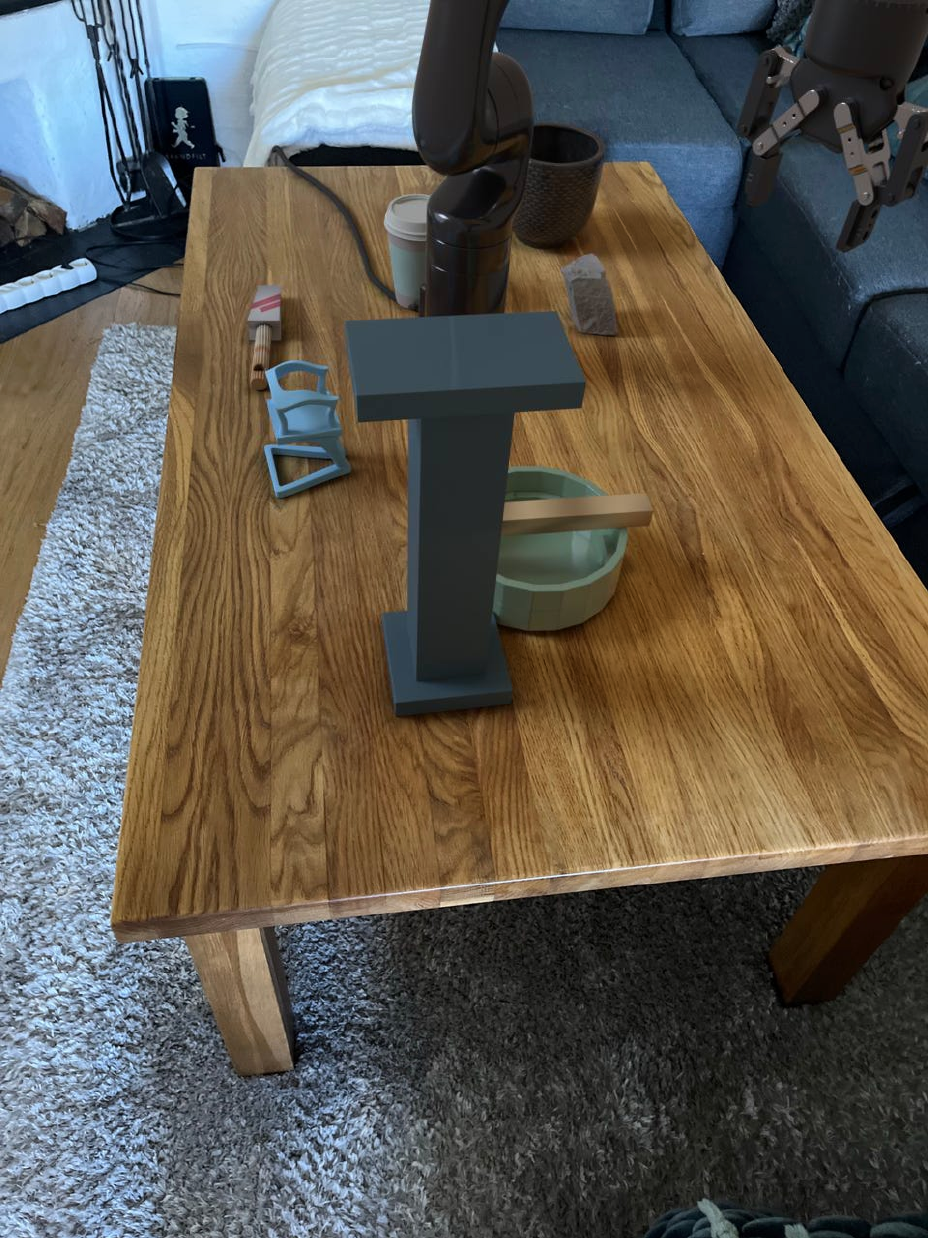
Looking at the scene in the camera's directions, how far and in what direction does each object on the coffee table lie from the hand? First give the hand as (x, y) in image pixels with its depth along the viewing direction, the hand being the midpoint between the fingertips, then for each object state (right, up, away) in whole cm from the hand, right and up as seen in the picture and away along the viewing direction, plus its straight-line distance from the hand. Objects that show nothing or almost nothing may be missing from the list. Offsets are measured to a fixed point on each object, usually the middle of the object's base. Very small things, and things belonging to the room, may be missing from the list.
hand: (800, 224), depth 72 cm
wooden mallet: (-20, -22, +14) cm, 33 cm away
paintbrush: (-50, +3, +42) cm, 65 cm away
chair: (-42, -15, +27) cm, 52 cm away
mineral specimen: (-10, +7, +48) cm, 50 cm away
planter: (-15, +25, +63) cm, 69 cm away
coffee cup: (-32, +11, +50) cm, 60 cm away
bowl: (-19, -25, +19) cm, 37 cm away
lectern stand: (-28, -34, +11) cm, 45 cm away
